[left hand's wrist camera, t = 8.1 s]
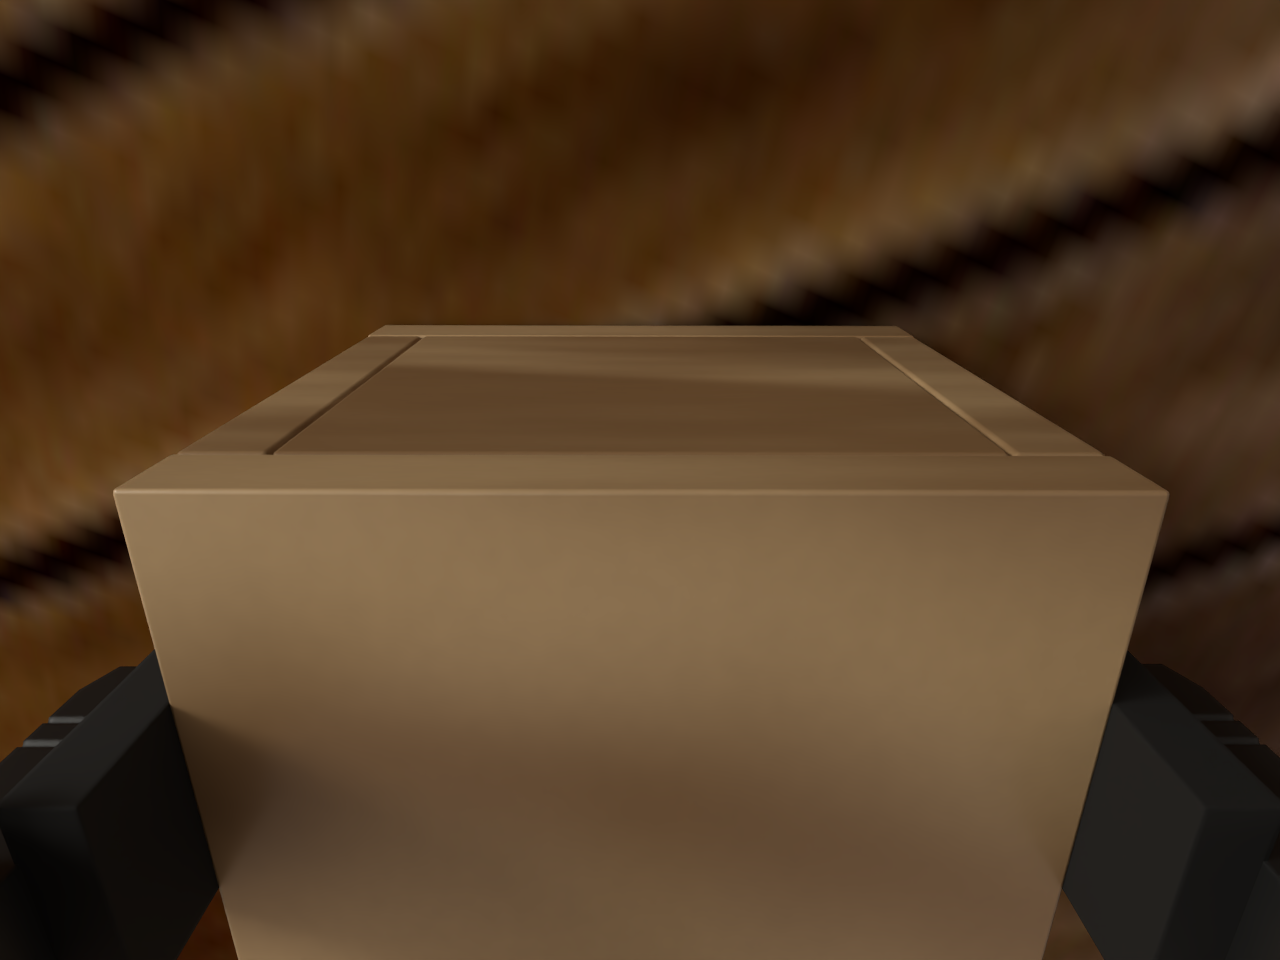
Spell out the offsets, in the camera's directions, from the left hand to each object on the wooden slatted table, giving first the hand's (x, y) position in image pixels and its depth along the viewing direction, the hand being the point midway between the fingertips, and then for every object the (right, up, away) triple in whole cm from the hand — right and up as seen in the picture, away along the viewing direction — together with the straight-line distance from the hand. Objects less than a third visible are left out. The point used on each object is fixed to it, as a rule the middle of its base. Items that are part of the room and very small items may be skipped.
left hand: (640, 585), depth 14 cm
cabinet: (0, -5, +6) cm, 8 cm away
